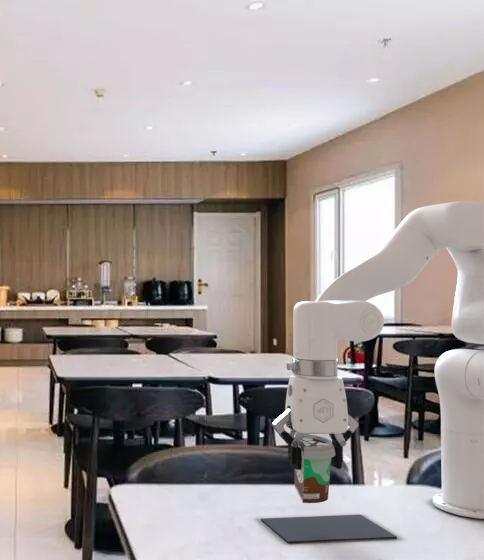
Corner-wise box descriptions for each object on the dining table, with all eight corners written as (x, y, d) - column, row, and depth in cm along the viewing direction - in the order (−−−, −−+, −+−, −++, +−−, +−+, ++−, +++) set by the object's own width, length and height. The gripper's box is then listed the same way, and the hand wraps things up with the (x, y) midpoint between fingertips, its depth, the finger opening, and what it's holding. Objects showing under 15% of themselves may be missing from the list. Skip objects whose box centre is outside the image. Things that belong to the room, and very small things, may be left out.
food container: (342, 508, 106) (342, 449, 106) (304, 505, 107) (304, 447, 107) (327, 487, 118) (327, 434, 118) (293, 484, 119) (294, 432, 119)
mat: (360, 516, 119) (360, 514, 119) (397, 538, 108) (397, 536, 108) (260, 520, 117) (260, 518, 117) (287, 543, 106) (287, 541, 106)
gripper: (278, 371, 108) (278, 474, 108) (372, 371, 110) (372, 472, 110) (260, 366, 116) (260, 463, 115) (348, 366, 118) (348, 460, 117)
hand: (315, 466), depth 112 cm, fingers closed on food container, 7 cm apart
